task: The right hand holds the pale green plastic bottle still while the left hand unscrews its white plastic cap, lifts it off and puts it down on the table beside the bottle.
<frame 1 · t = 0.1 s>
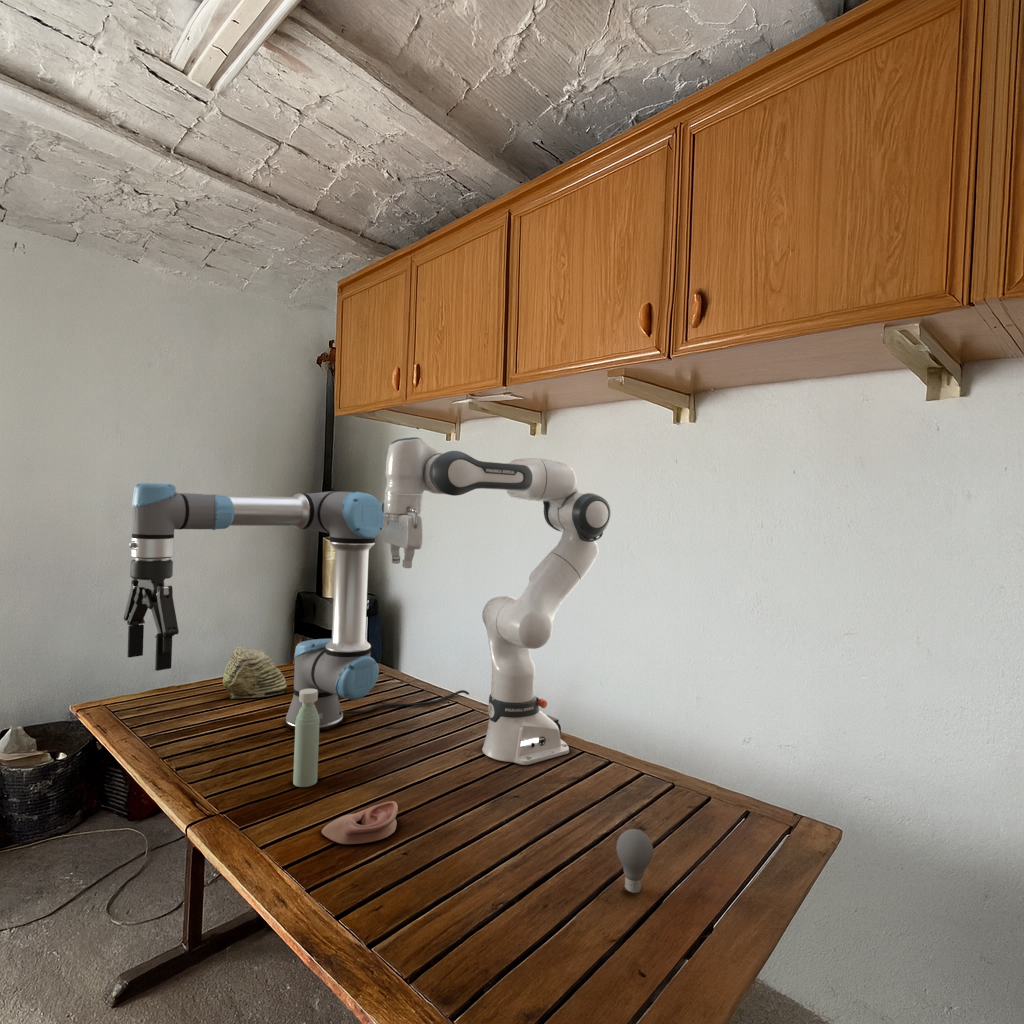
left hand: (148, 662, 129), 28 cm above the table, tool pointing down, fingers open, 13 cm apart
right hand: (401, 565, 148), 48 cm above the table, tool pointing down, fingers open, 8 cm apart
light bulb: (632, 891, 106), on the table
anatomical model: (360, 830, 121), on the table
fossil: (254, 694, 198), on the table
cap: (308, 692, 140), point 20 cm above the table, screwed on, not yet turned
bottle: (305, 782, 140), on the table
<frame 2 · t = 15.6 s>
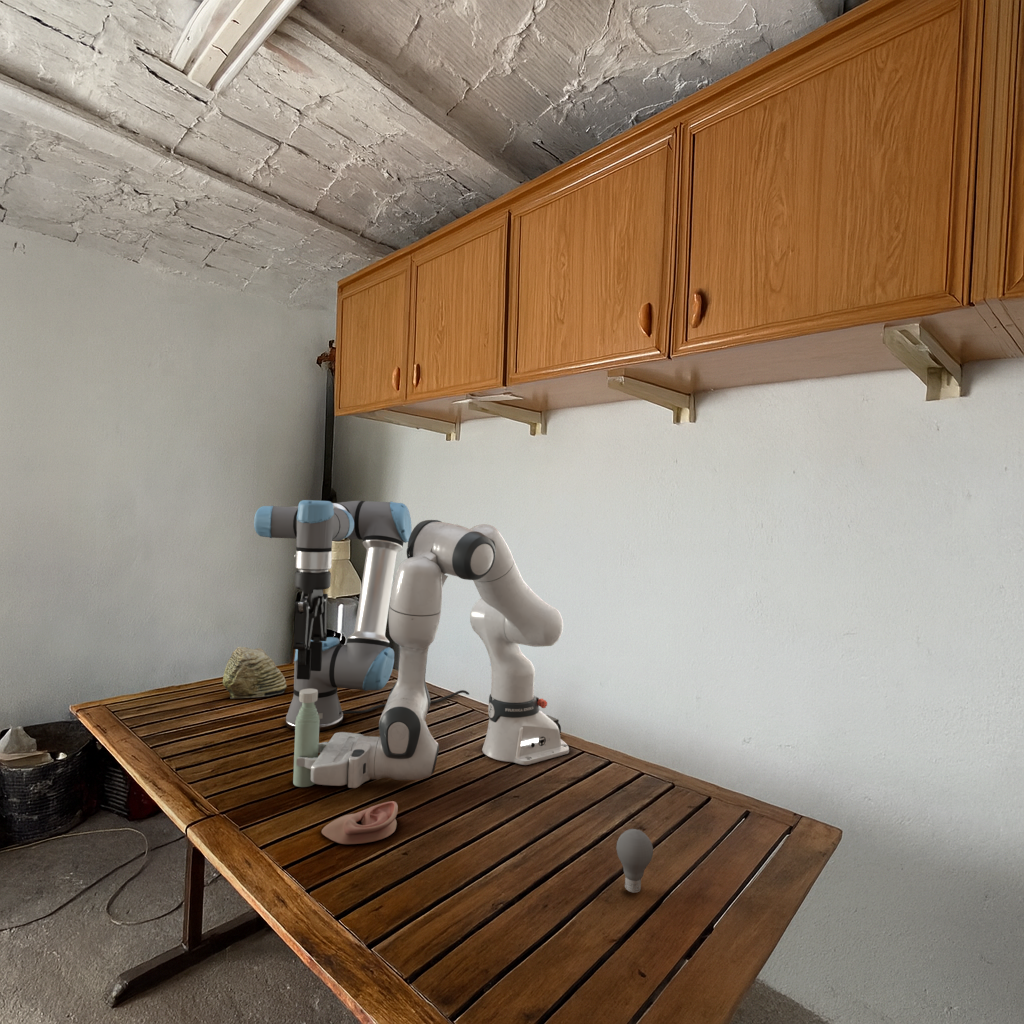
left hand: (309, 674, 140), 24 cm above the table, tool pointing down, fingers open, 6 cm apart
right hand: (302, 754, 140), 6 cm above the table, tool horizontal, fingers closed on bottle, 5 cm apart
bottle: (305, 782, 140), on the table, touching right hand
everything else where it was.
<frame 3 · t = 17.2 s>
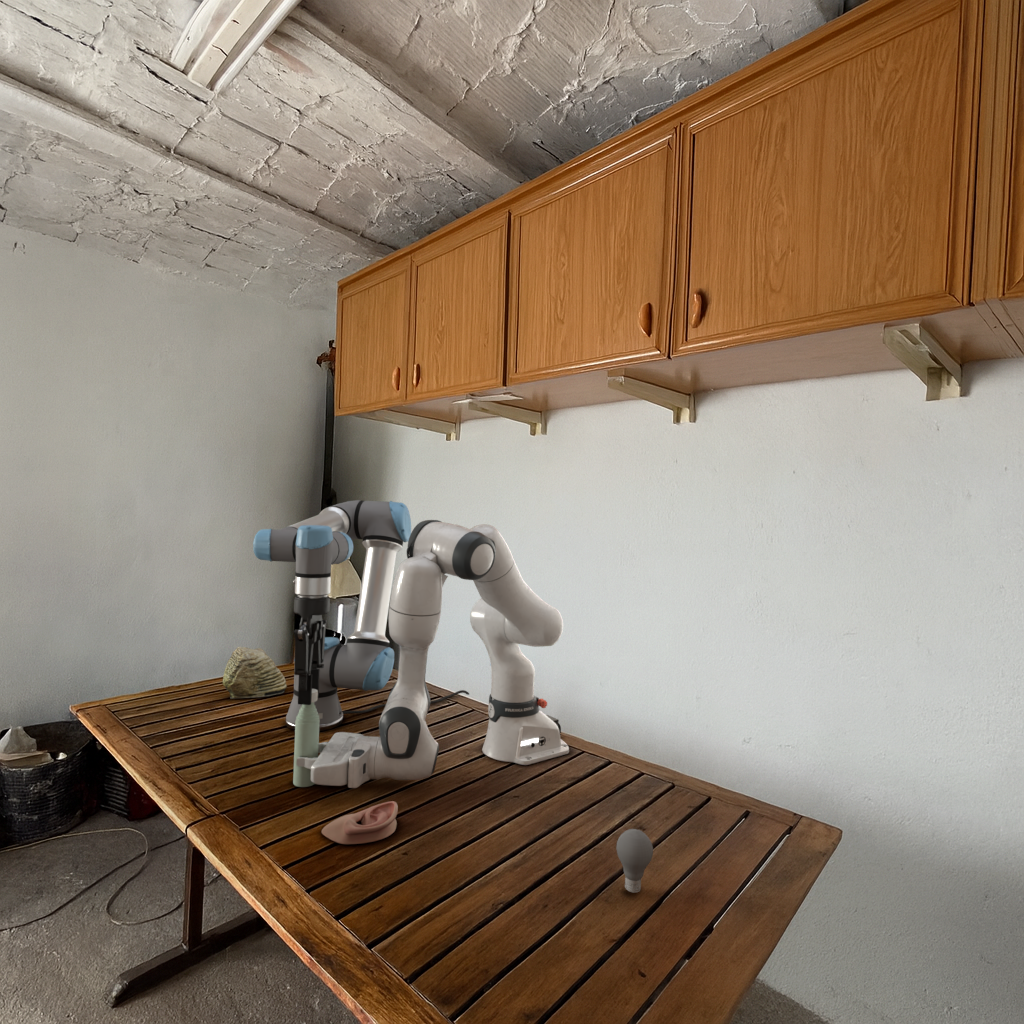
left hand: (308, 700, 140), 18 cm above the table, tool pointing down, fingers closed on cap, 4 cm apart
right hand: (302, 754, 140), 6 cm above the table, tool horizontal, fingers closed on bottle, 5 cm apart
cap: (308, 692, 140), point 20 cm above the table, screwed on, not yet turned, touching left hand
bottle: (305, 782, 140), on the table, touching right hand
everything else where it was.
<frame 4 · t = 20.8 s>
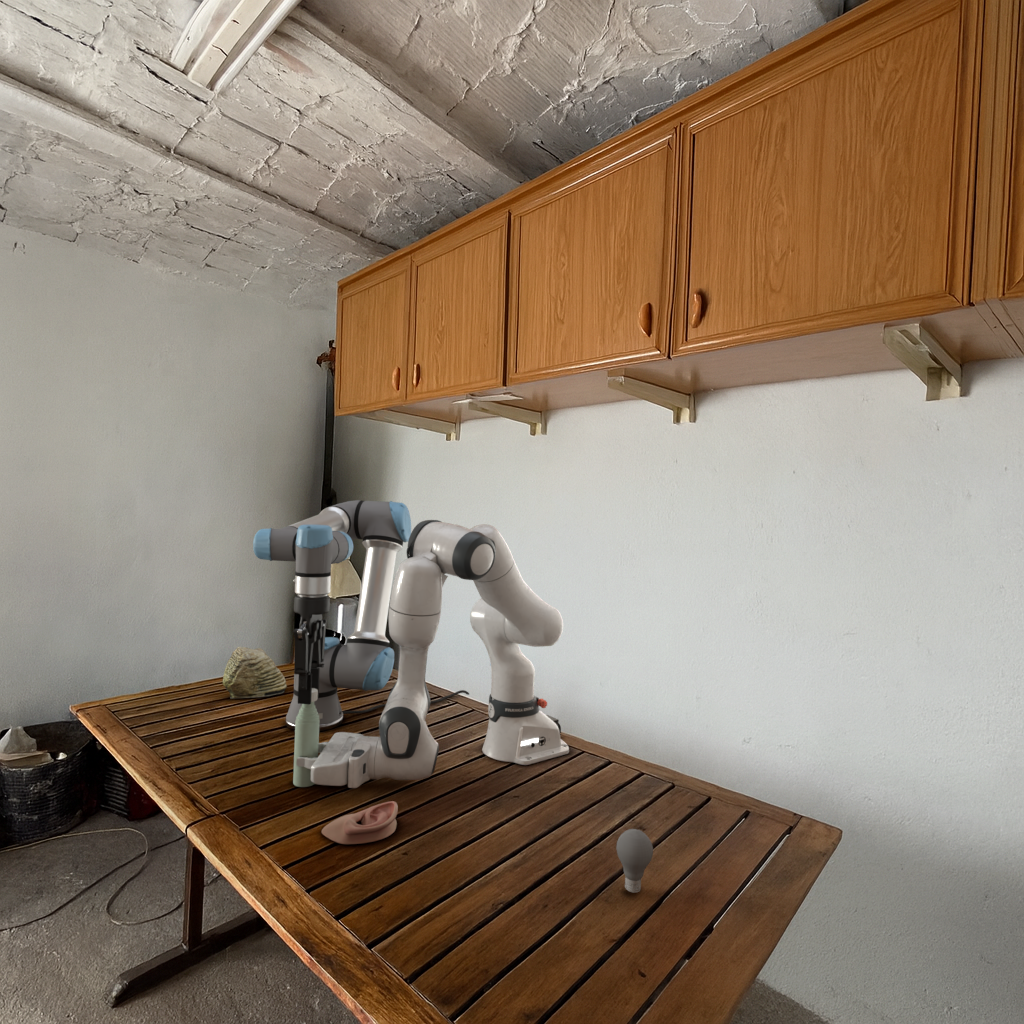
left hand: (308, 700, 140), 18 cm above the table, tool pointing down, fingers closed on cap, 4 cm apart
right hand: (302, 754, 140), 6 cm above the table, tool horizontal, fingers closed on bottle, 5 cm apart
cap: (308, 691, 140), point 20 cm above the table, turned 116° so far, risen 0.1 cm, still on its thread, touching left hand
bottle: (305, 782, 140), on the table, touching right hand
everything else where it was.
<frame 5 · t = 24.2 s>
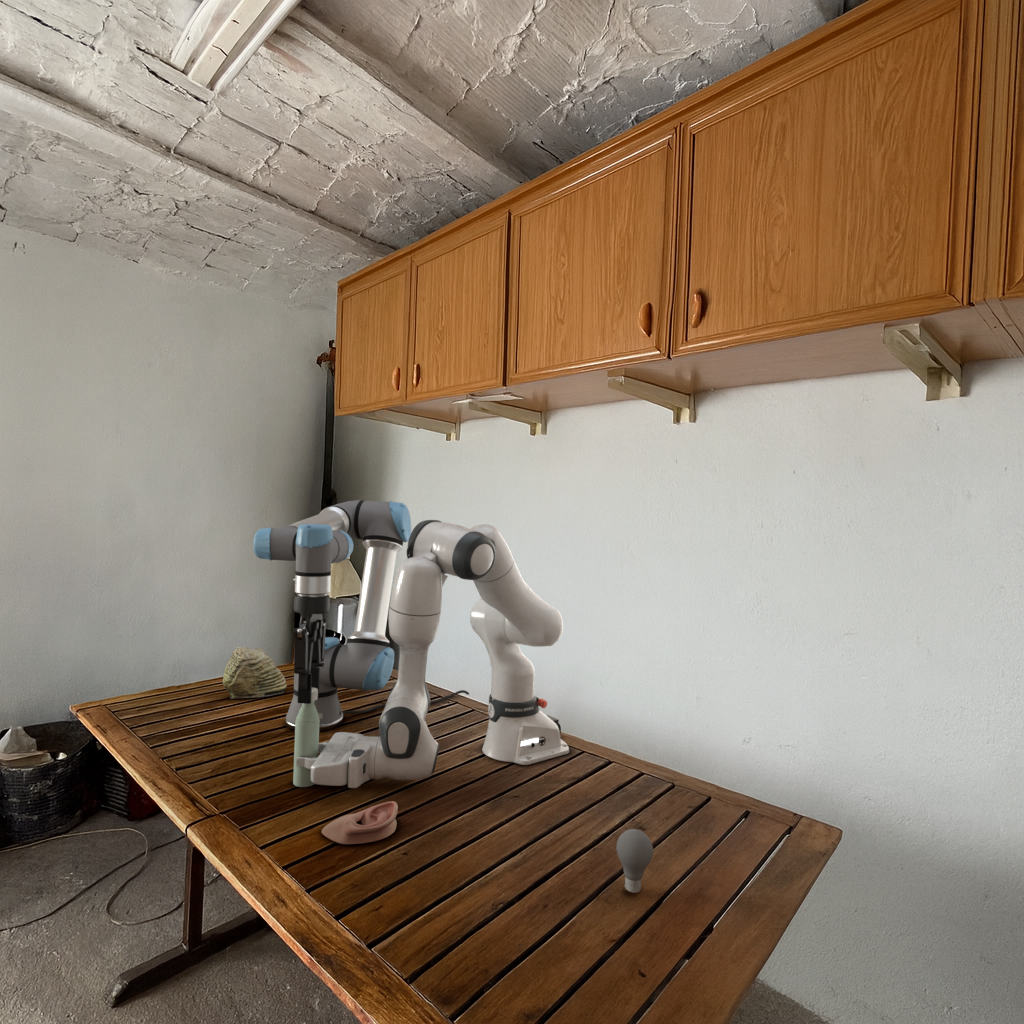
left hand: (308, 699, 140), 18 cm above the table, tool pointing down, fingers closed on cap, 4 cm apart
right hand: (302, 754, 140), 6 cm above the table, tool horizontal, fingers closed on bottle, 5 cm apart
cap: (308, 691, 140), point 20 cm above the table, turned 231° so far, risen 0.3 cm, still on its thread, touching left hand
bottle: (305, 782, 140), on the table, touching right hand
everything else where it was.
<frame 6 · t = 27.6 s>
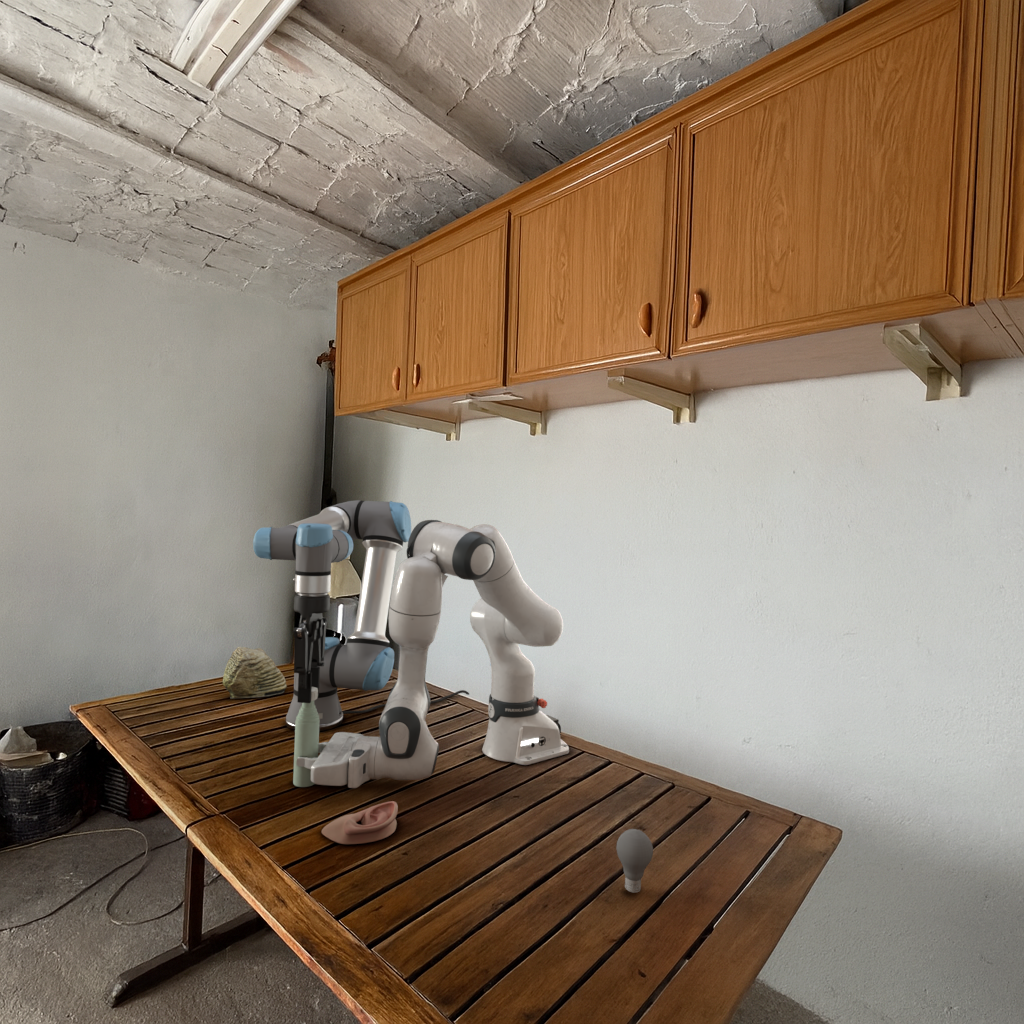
left hand: (308, 698, 140), 19 cm above the table, tool pointing down, fingers closed on cap, 4 cm apart
right hand: (302, 754, 140), 6 cm above the table, tool horizontal, fingers closed on bottle, 5 cm apart
cap: (308, 690, 140), point 20 cm above the table, turned 347° so far, risen 0.4 cm, still on its thread, touching left hand
bottle: (305, 782, 140), on the table, touching right hand
everything else where it was.
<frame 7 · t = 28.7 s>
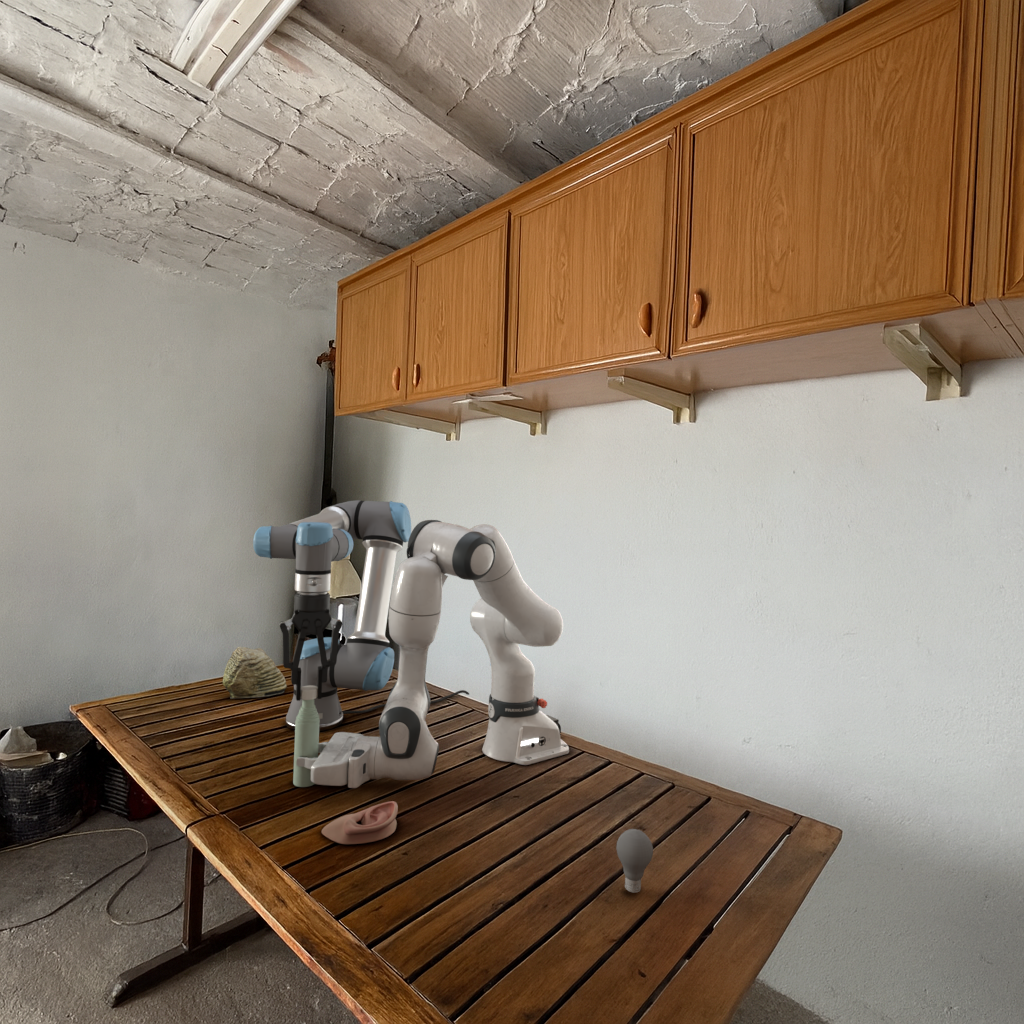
left hand: (308, 697, 140), 19 cm above the table, tool pointing down, fingers closed on cap, 4 cm apart
right hand: (302, 754, 140), 6 cm above the table, tool horizontal, fingers closed on bottle, 5 cm apart
cap: (308, 689, 140), point 21 cm above the table, off its thread, touching left hand
bottle: (305, 782, 140), on the table, touching right hand
everything else where it was.
when the left hand's fingers open (2 cm above the table, at t = 34.4 s): cap drops 2 cm, point 2 cm above the table.
when the right hand's fingers open (6 cm above the table, at t = 35.7 s): bottle stays where it is, on the table.
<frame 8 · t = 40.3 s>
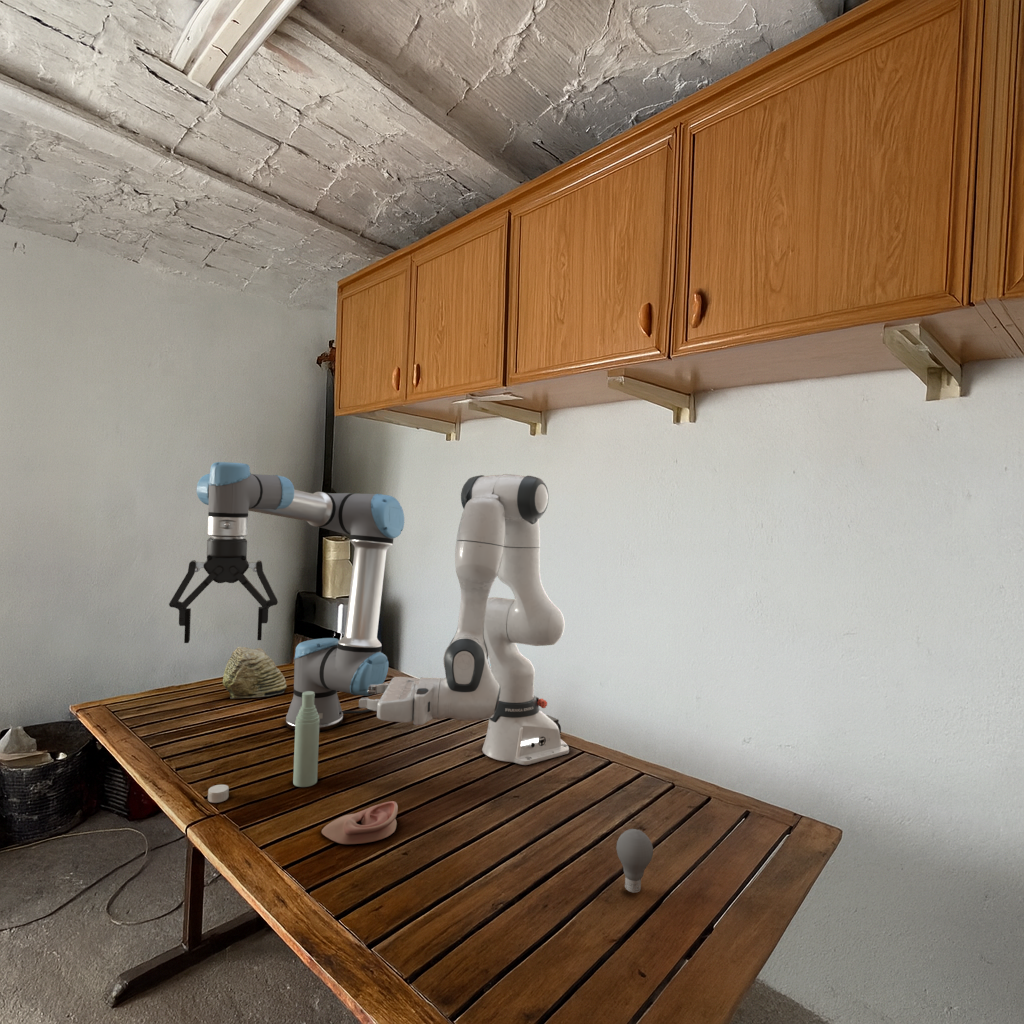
left hand: (223, 640, 131), 33 cm above the table, tool pointing down, fingers open, 13 cm apart
right hand: (364, 695, 140), 20 cm above the table, tool horizontal, fingers open, 8 cm apart
cap: (218, 790, 131), point 2 cm above the table, off its thread
bottle: (305, 782, 140), on the table
everything else where it was.
at the end: cap came off its thread; cap point 1.8 cm above the table; the left hand is holding nothing; the right hand is holding nothing; bottle tilted 0°; bottle moved 0.0 cm from its start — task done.
